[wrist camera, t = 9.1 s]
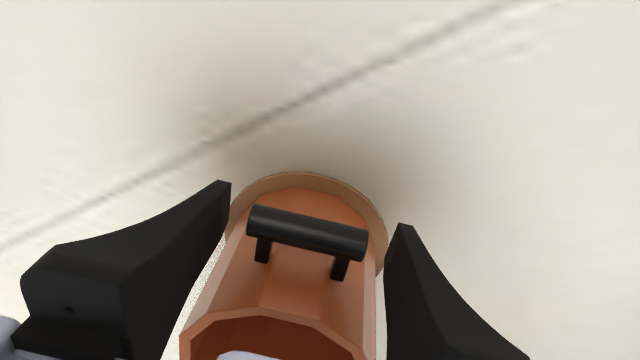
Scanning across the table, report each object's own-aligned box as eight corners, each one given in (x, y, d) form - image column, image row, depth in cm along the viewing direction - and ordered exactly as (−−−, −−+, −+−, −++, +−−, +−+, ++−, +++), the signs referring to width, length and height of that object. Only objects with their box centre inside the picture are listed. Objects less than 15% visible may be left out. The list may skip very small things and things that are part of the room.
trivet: (363, 311, 25) (363, 314, 25) (221, 278, 25) (220, 281, 25) (411, 195, 19) (411, 198, 19) (230, 153, 19) (229, 155, 19)
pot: (353, 304, 24) (346, 439, 17) (233, 275, 24) (180, 400, 17) (404, 172, 18) (423, 296, 12) (247, 135, 18) (175, 238, 12)
